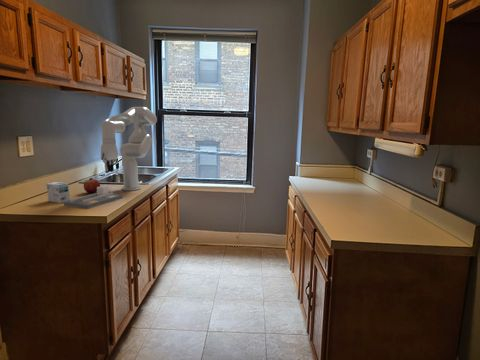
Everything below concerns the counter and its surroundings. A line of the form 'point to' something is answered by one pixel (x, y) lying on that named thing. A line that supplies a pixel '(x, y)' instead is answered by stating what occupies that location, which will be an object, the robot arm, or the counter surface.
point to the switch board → (92, 200)
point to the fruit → (91, 185)
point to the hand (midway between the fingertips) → (110, 171)
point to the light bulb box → (58, 192)
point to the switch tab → (102, 190)
